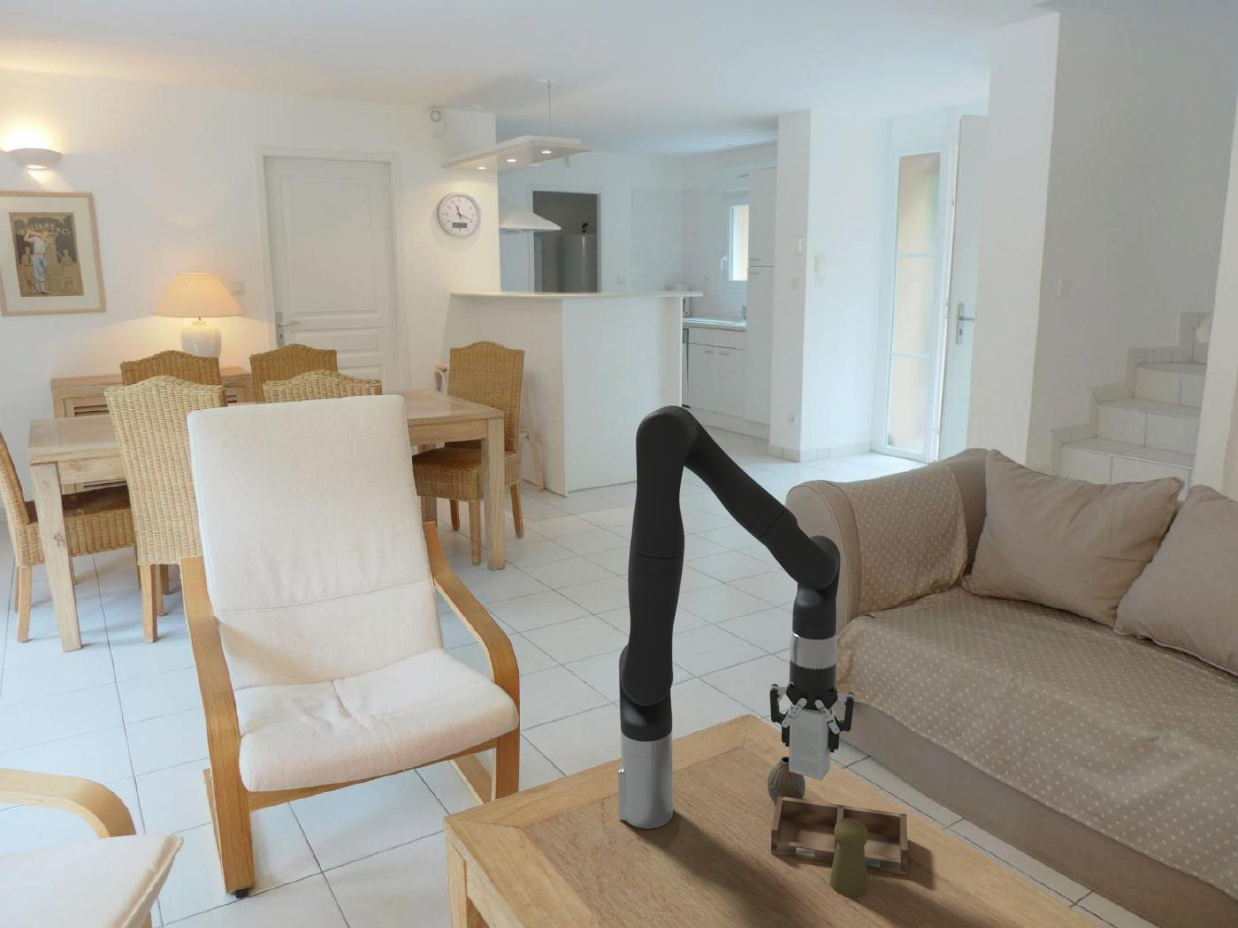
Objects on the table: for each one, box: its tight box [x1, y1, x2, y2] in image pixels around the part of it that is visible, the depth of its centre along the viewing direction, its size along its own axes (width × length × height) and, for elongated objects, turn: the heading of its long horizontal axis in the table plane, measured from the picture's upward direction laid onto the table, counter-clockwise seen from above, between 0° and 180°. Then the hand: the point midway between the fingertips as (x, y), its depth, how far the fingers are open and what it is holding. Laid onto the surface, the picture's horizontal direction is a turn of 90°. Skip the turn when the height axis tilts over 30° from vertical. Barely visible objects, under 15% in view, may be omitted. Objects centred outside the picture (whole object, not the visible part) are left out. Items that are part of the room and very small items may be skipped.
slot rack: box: [770, 796, 909, 876], centre depth 155 cm, size 22×10×5 cm, turn 74°
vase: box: [767, 756, 806, 805], centre depth 167 cm, size 7×7×9 cm
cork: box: [829, 818, 869, 898], centre depth 145 cm, size 6×6×11 cm
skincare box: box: [788, 705, 833, 782], centre depth 152 cm, size 6×4×12 cm
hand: (810, 747), depth 153 cm, fingers closed on skincare box, 7 cm apart
